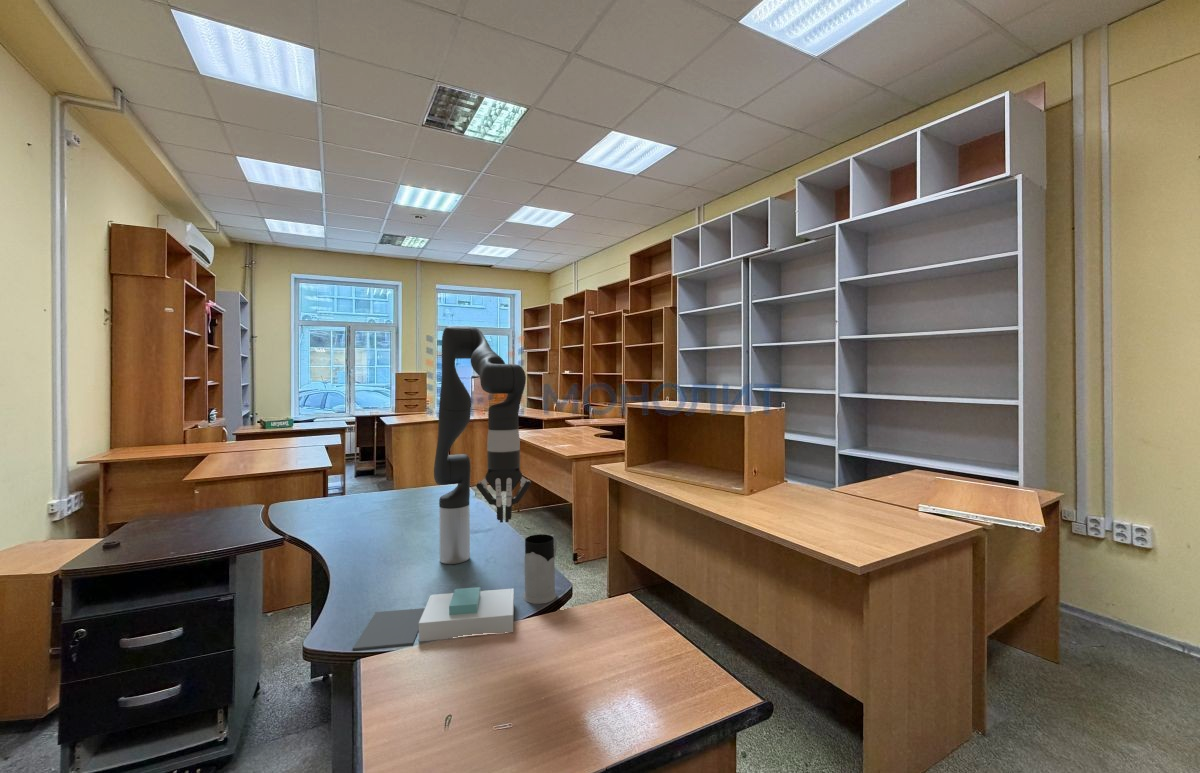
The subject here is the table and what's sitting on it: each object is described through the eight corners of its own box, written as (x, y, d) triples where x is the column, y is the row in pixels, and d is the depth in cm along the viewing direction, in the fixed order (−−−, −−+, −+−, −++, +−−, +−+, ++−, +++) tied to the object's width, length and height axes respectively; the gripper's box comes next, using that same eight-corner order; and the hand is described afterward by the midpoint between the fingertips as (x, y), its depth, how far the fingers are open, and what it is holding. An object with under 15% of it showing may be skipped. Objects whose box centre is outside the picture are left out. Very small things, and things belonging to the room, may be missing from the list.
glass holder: (516, 600, 121) (516, 542, 121) (542, 579, 134) (541, 526, 134) (547, 605, 118) (547, 546, 118) (570, 583, 131) (570, 529, 131)
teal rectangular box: (454, 597, 114) (454, 589, 114) (480, 595, 115) (480, 587, 115) (449, 615, 105) (449, 606, 105) (476, 612, 106) (476, 603, 106)
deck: (430, 611, 116) (430, 594, 116) (513, 604, 119) (513, 588, 119) (418, 641, 102) (418, 623, 102) (512, 632, 105) (512, 615, 105)
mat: (375, 613, 115) (375, 612, 115) (427, 609, 117) (427, 607, 117) (352, 650, 99) (352, 648, 99) (412, 644, 101) (412, 642, 101)
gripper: (532, 445, 117) (532, 515, 117) (476, 447, 114) (476, 518, 114) (532, 449, 109) (533, 524, 109) (472, 451, 107) (473, 527, 107)
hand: (504, 521), depth 112 cm, fingers closed
